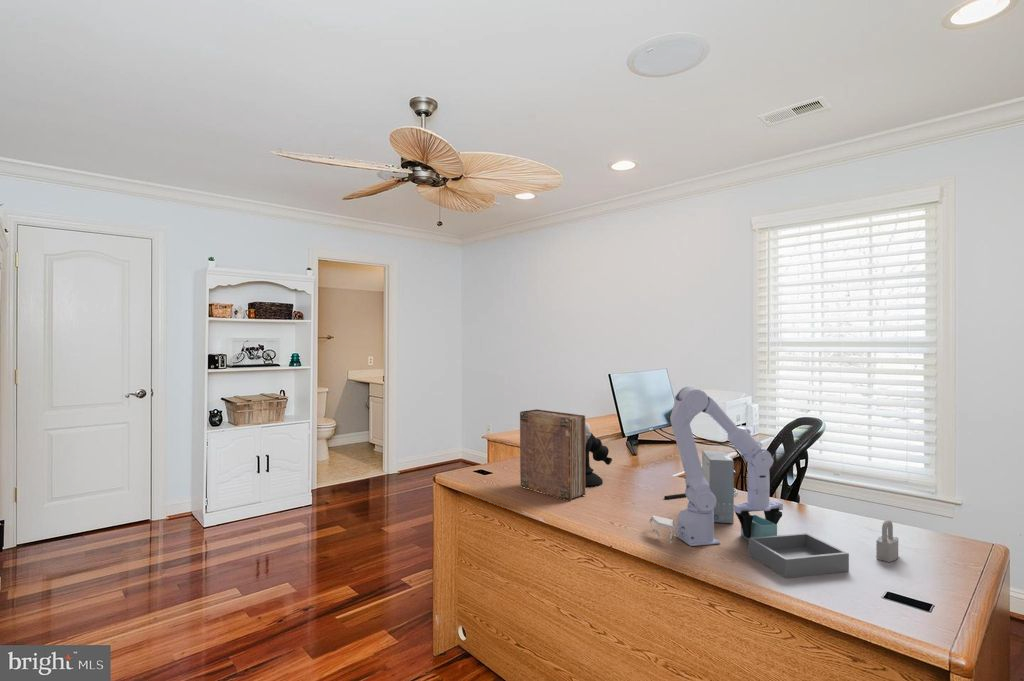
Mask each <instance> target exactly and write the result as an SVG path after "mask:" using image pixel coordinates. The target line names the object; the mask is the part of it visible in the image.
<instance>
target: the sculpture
mask: <svg viewBox="0 0 1024 681" xmlns="http://www.w3.org/2000/svg"><path fill="white" fill-rule="evenodd" d="M609 452H610V451H609V448H608V446H606V445H603V443H602V440H601V439H600V438H596V436H595V435H594V434H593V433H592V432H591V426H590V424H589V423H588V422H587V421H585V488H587V487H588V488H595V486H597V487H600V486H602V485H603V482H604V481H603V479H602V478H601V477H600V476H599V475H598V474H597V473H595V472H594V469H593V468H592V467H591V465H590V464H591V463H590V453H591V454H592V458H593V461H594V462H601V461H602V462H604V463H605V464H606V465H608V466H610V465H611V463H612V462H613V458H612V457H609V456H608V455H609Z"/></svg>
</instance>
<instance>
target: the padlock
mask: <svg viewBox="0 0 1024 681" xmlns="http://www.w3.org/2000/svg"><path fill="white" fill-rule="evenodd" d="M875 548H876V557H875V558H876V560H879V561H882V562H883V561H884V562H887V563H890V562H893V561H897V560H898V557H899V537H897V536H894V524H893V522H892V521H891V520H890V519H885V520H884V521H883V522H882V527H881V536H878V537H877V539H876V546H875Z"/></svg>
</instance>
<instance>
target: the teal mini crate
mask: <svg viewBox="0 0 1024 681" xmlns="http://www.w3.org/2000/svg"><path fill="white" fill-rule="evenodd" d="M750 515H751V516H753V520H752V524H751V537H750V538H755V537H766V536H778V524H777V525H776V524H774V523H772V522H770V521H768V520H766V519H765V517H762V516H760V515H758V514H754V513H753V514H750ZM740 536H741V537H742V538H744V539H746V540H748V541H749V538H747V537H745V536H744V534H743V530H742V526H741V525H740Z"/></svg>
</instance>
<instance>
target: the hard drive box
mask: <svg viewBox="0 0 1024 681" xmlns="http://www.w3.org/2000/svg"><path fill="white" fill-rule="evenodd" d="M734 465H735V461H734V460H733V458H732V457H730V456H729V454H727V453H726V452H725V451H718V450H702V451H701V466H702V470H703V474H704V477H705V479H706V481H707V483H708V485H709V487H710V490H711V492H712V493H713V494H714V495H715V497H716V500H717V504H716V507H715V508H714V523H721V524H722V523H724V524H734V520H735V519H734V517H735V516H734V514H735V511H734V505H735V504H734V502H735V497H734V488H735V485H734V482H735V480H734V479H735V478H734V477H735V476H734V475H735V470H734V469H735V468H734V467H735V466H734Z"/></svg>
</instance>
